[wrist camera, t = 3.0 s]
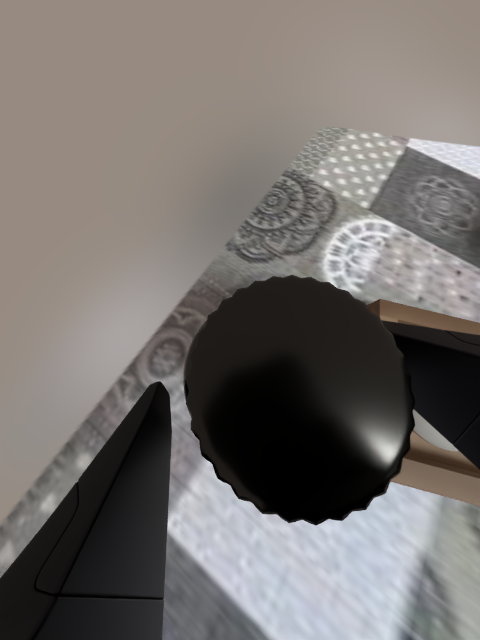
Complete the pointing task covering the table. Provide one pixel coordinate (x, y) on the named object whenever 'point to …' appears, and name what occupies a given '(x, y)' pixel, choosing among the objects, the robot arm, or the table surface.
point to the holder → (426, 442)
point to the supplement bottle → (300, 399)
